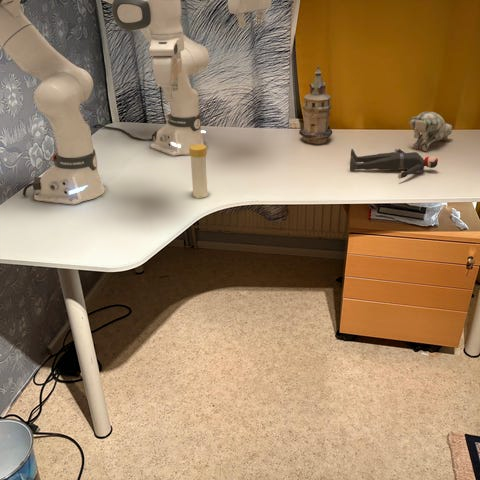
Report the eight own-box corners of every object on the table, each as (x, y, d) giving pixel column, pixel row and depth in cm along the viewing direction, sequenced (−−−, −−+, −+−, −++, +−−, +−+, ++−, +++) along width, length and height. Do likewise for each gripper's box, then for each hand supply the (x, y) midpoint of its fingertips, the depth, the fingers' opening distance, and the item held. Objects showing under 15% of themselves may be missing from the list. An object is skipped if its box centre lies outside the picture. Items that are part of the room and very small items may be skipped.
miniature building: (320, 132, 228) (325, 59, 214) (338, 142, 217) (344, 66, 203) (293, 137, 224) (296, 63, 209) (310, 147, 213) (314, 69, 198)
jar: (199, 199, 172) (196, 152, 164) (190, 194, 175) (187, 148, 168) (210, 195, 175) (208, 148, 167) (201, 190, 178) (199, 144, 170)
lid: (196, 158, 165) (196, 151, 164) (185, 153, 168) (185, 146, 167) (210, 154, 168) (209, 147, 167) (199, 149, 172) (199, 142, 170)
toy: (351, 141, 203) (434, 141, 197) (350, 156, 206) (432, 157, 200) (349, 166, 181) (443, 167, 175) (349, 183, 184) (441, 185, 178)
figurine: (439, 162, 206) (463, 135, 215) (427, 119, 197) (453, 93, 206) (416, 162, 213) (441, 135, 222) (404, 120, 204) (430, 94, 213)
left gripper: (163, 37, 153) (167, 86, 160) (147, 50, 135) (153, 105, 142) (185, 37, 153) (188, 86, 159) (172, 50, 135) (176, 105, 142)
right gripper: (260, -24, 177) (260, 21, 184) (223, -20, 162) (224, 29, 169) (276, -23, 174) (275, 22, 180) (240, -19, 159) (241, 30, 166)
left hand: (171, 95), depth 151 cm, fingers open, 8 cm apart
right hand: (250, 25), depth 175 cm, fingers open, 8 cm apart
